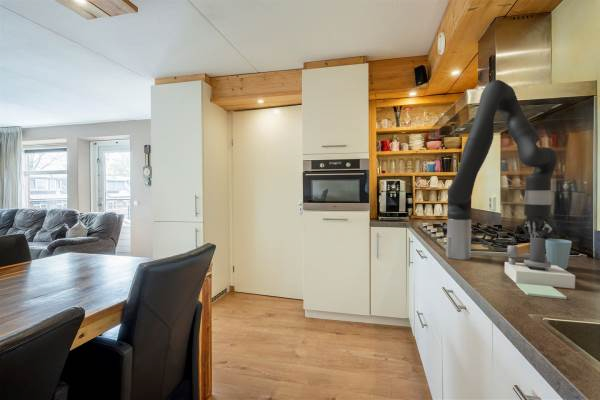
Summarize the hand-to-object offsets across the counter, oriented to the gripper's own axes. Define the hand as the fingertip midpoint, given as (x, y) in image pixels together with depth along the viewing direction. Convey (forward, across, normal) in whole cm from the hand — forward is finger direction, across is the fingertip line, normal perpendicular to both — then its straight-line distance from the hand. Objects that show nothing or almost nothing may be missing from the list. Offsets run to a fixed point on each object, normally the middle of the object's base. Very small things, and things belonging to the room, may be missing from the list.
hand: (536, 250), depth 104 cm
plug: (+8, -8, +6) cm, 13 cm away
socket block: (+8, -8, +6) cm, 13 cm away
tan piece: (+1, 0, +6) cm, 6 cm away
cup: (+8, +7, -13) cm, 17 cm away
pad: (+8, -20, +13) cm, 25 cm away
